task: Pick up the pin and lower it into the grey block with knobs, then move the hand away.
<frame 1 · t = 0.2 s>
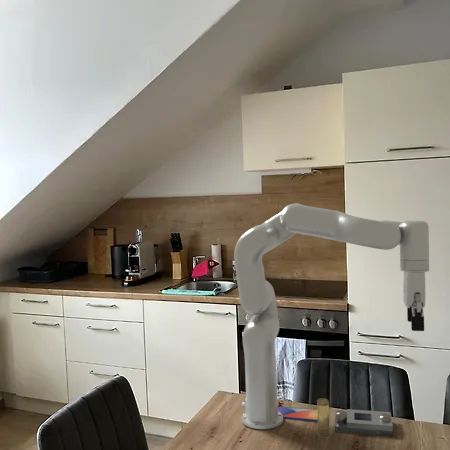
hand: (415, 326, 138), 31 cm above the table, tool pointing down, fingers open, 9 cm apart
grey block with knobs: (363, 426, 145), on the table
smartphone: (297, 416, 154), on the table
pin: (323, 434, 141), on the table
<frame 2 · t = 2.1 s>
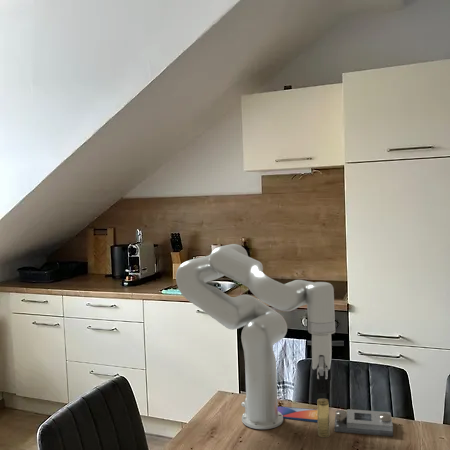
hand: (324, 386, 140), 14 cm above the table, tool pointing down, fingers open, 9 cm apart
nothing on the table moved.
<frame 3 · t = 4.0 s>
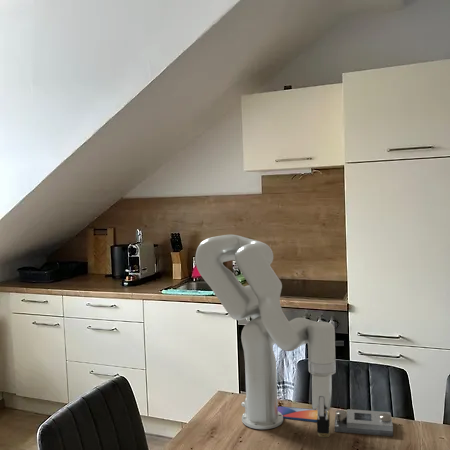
hand: (323, 428, 141), 2 cm above the table, tool pointing down, fingers closed on pin, 3 cm apart
pin: (323, 434, 141), on the table, touching gripper
everything else where it was.
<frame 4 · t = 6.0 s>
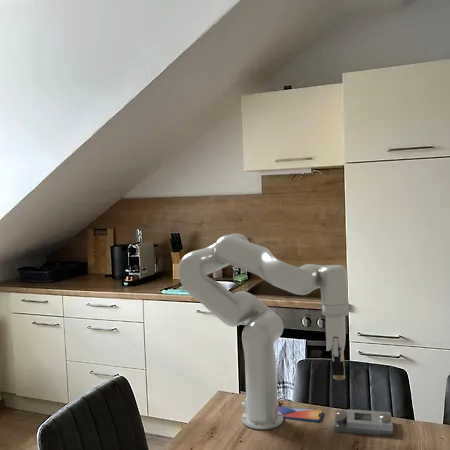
hand: (338, 371, 141), 18 cm above the table, tool pointing down, fingers closed on pin, 3 cm apart
pin: (339, 377, 141), point 16 cm above the table, touching gripper
everything else where it was.
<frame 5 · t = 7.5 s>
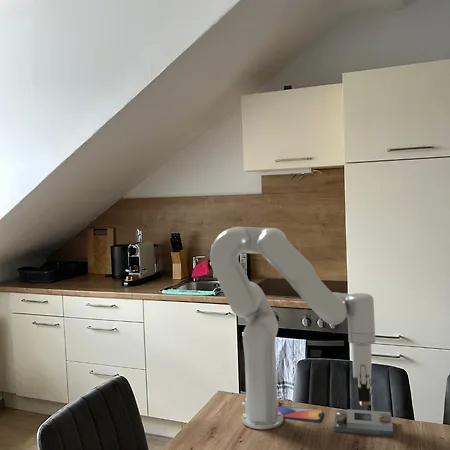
hand: (364, 397, 144), 9 cm above the table, tool pointing down, fingers closed on pin, 3 cm apart
pin: (364, 403, 144), point 7 cm above the table, touching gripper
everything else where it was.
when the fingers open (4 cm above the table, at t = 8.5 s): pin drops 2 cm, resting in grey block with knobs.
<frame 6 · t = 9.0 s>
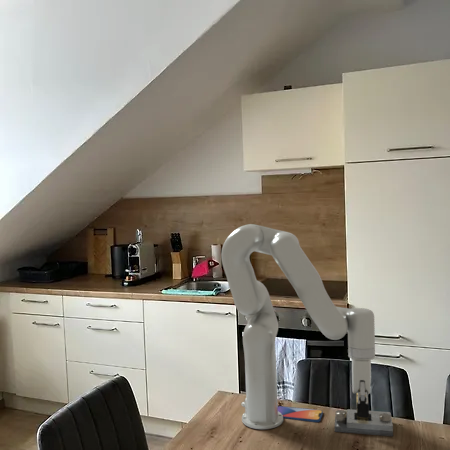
hand: (362, 409, 145), 5 cm above the table, tool pointing down, fingers open, 8 cm apart
pin: (363, 426, 145), resting in grey block with knobs
everything else where it was.
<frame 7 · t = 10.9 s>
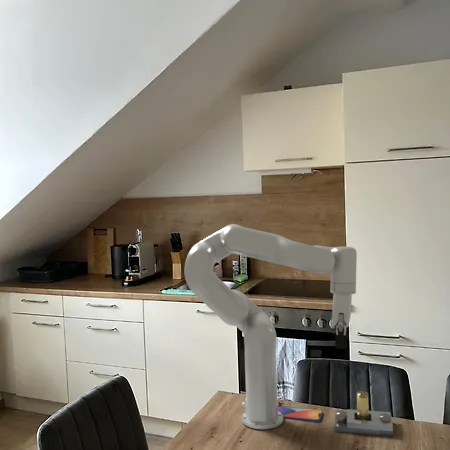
hand: (341, 343, 150), 23 cm above the table, tool pointing down, fingers open, 9 cm apart
nothing on the table moved.
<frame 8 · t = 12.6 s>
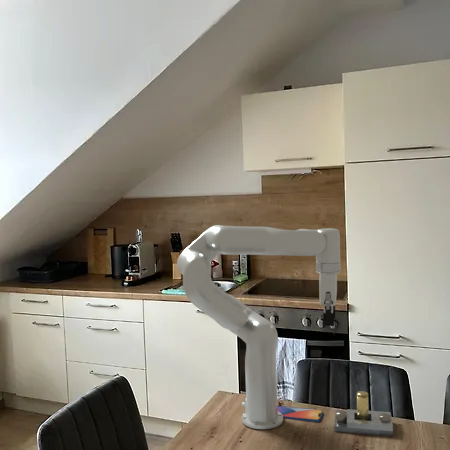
hand: (329, 321, 156), 28 cm above the table, tool pointing down, fingers open, 9 cm apart
nothing on the table moved.
at the end: pin 0.1 cm off-centre on the grey block with knobs, point 0.0 cm above the grey block with knobs's base; pin tilted 0°; the gripper is holding nothing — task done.
